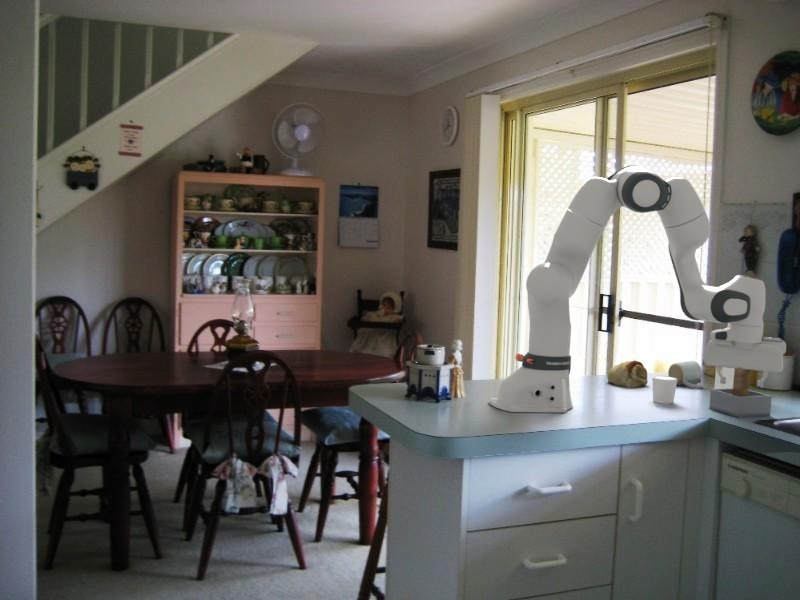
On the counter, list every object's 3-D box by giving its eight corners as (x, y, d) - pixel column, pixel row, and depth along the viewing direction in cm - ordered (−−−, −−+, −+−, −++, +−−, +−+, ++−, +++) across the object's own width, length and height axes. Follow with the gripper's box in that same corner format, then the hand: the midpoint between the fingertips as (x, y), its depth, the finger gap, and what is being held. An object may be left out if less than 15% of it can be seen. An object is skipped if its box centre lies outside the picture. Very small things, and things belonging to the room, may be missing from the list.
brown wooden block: (736, 410, 232) (740, 367, 231) (731, 409, 234) (734, 365, 233) (746, 410, 233) (750, 366, 232) (741, 408, 235) (744, 365, 234)
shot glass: (677, 404, 240) (678, 380, 240) (651, 403, 242) (653, 378, 241) (674, 400, 247) (676, 376, 246) (649, 398, 248) (651, 374, 248)
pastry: (644, 389, 263) (646, 364, 262) (603, 385, 267) (605, 360, 267) (650, 383, 275) (651, 358, 275) (610, 378, 280) (612, 354, 280)
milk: (713, 394, 260) (718, 322, 258) (725, 392, 263) (730, 321, 262) (731, 397, 255) (736, 324, 253) (743, 395, 258) (748, 323, 257)
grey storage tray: (737, 417, 227) (738, 397, 226) (709, 408, 237) (710, 389, 236) (770, 415, 230) (771, 395, 230) (741, 407, 241) (742, 388, 240)
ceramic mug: (665, 382, 276) (667, 359, 275) (685, 382, 279) (687, 358, 278) (687, 389, 266) (689, 365, 265) (708, 388, 269) (710, 364, 268)
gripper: (787, 337, 230) (782, 387, 232) (707, 330, 239) (703, 379, 240) (786, 339, 225) (782, 391, 226) (705, 332, 233) (701, 382, 234)
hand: (741, 385), depth 233 cm, fingers open, 8 cm apart
